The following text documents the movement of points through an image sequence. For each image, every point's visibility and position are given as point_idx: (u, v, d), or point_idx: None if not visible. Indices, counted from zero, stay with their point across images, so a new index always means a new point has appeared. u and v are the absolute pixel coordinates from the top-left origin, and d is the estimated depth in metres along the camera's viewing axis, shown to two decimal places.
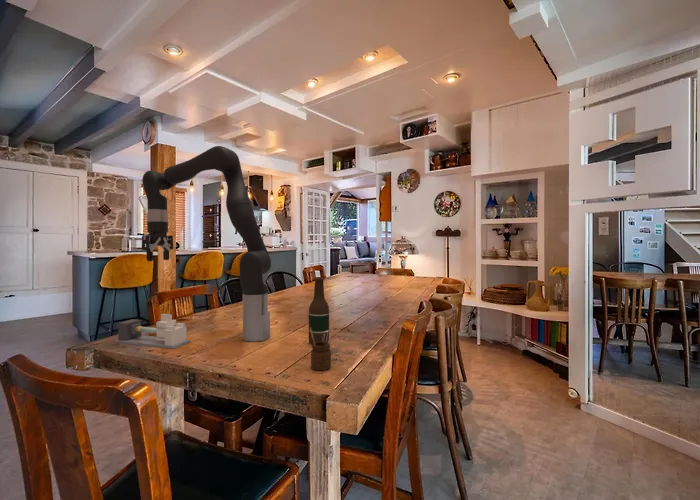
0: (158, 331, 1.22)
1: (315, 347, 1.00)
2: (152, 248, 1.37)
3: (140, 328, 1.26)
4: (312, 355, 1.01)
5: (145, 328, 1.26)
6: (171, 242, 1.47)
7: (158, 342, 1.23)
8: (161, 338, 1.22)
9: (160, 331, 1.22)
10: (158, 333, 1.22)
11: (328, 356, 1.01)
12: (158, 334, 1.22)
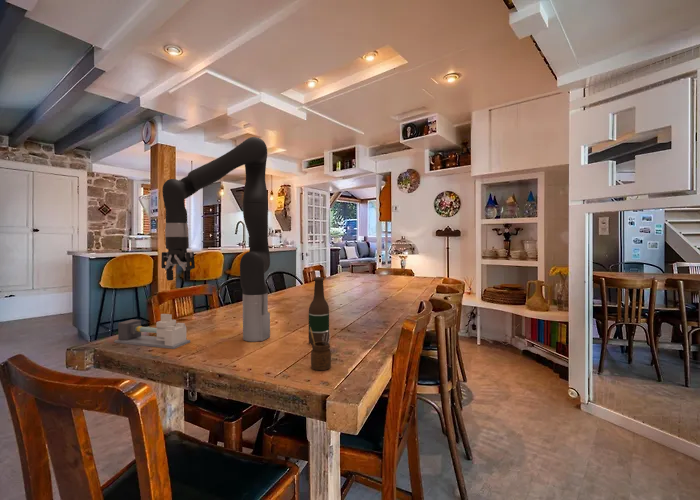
0: (158, 331, 1.22)
1: (315, 347, 1.00)
2: None
3: (140, 328, 1.26)
4: (312, 355, 1.01)
5: (145, 328, 1.26)
6: None
7: (158, 342, 1.23)
8: (161, 338, 1.22)
9: (160, 331, 1.22)
10: (158, 333, 1.22)
11: (328, 356, 1.01)
12: (158, 334, 1.22)
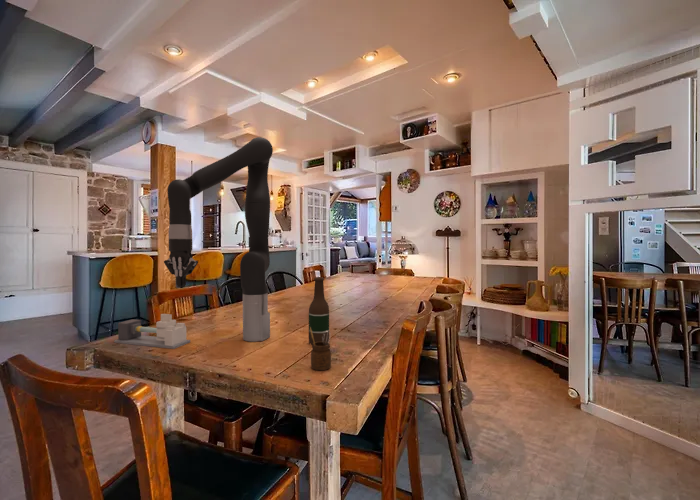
0: (158, 331, 1.22)
1: (315, 347, 1.00)
2: None
3: (140, 328, 1.26)
4: (312, 355, 1.01)
5: (145, 328, 1.26)
6: None
7: (158, 342, 1.23)
8: (161, 338, 1.22)
9: (160, 331, 1.22)
10: (158, 333, 1.22)
11: (328, 356, 1.01)
12: (158, 334, 1.22)
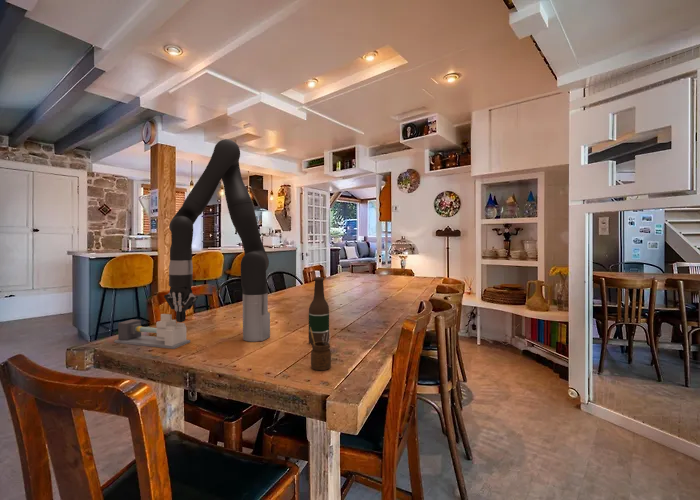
0: (158, 331, 1.22)
1: (315, 347, 1.00)
2: None
3: (140, 328, 1.26)
4: (312, 355, 1.01)
5: (145, 328, 1.26)
6: None
7: (158, 342, 1.23)
8: (161, 338, 1.22)
9: (160, 331, 1.22)
10: (158, 333, 1.22)
11: (328, 356, 1.01)
12: (158, 334, 1.22)
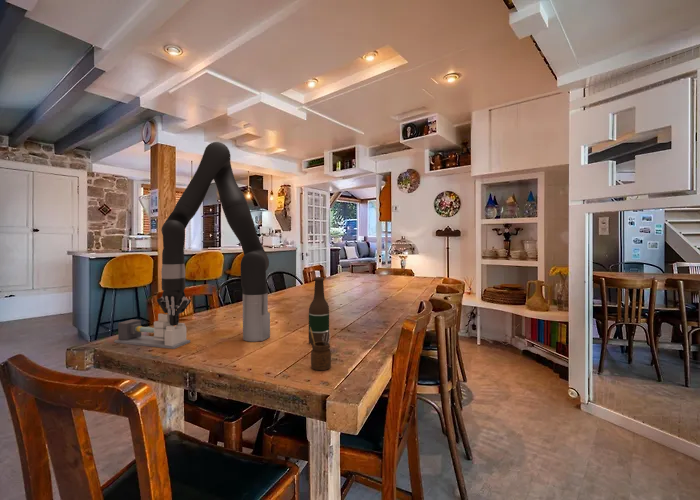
0: (155, 331, 1.22)
1: (315, 347, 1.00)
2: None
3: (140, 328, 1.26)
4: (312, 355, 1.01)
5: (145, 328, 1.26)
6: None
7: (158, 342, 1.23)
8: (158, 338, 1.22)
9: (157, 331, 1.22)
10: (155, 333, 1.23)
11: (328, 356, 1.01)
12: (155, 333, 1.23)
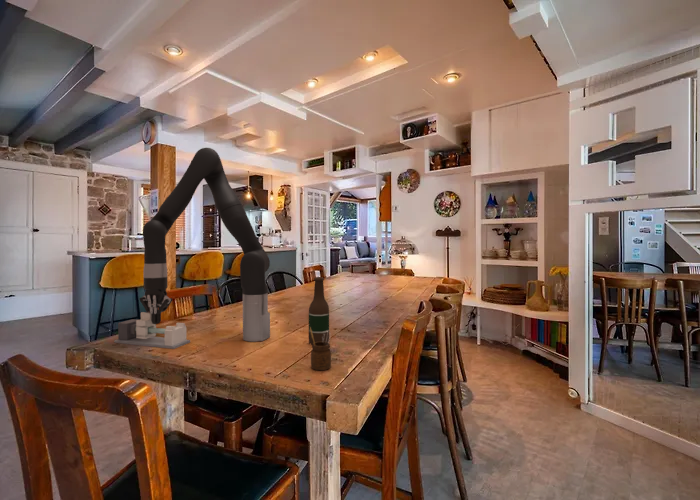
0: (138, 329, 1.25)
1: (315, 347, 1.00)
2: None
3: None
4: (312, 355, 1.01)
5: None
6: None
7: (158, 342, 1.23)
8: (141, 336, 1.24)
9: (140, 329, 1.24)
10: (138, 331, 1.25)
11: (328, 356, 1.01)
12: (138, 332, 1.25)
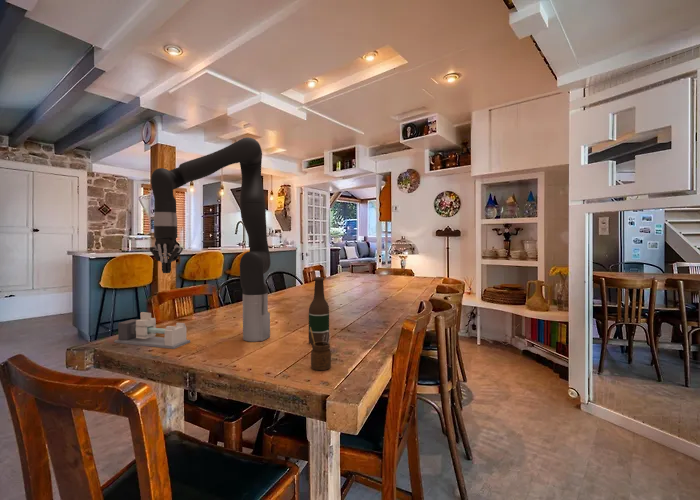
0: (137, 329, 1.25)
1: (315, 347, 1.00)
2: None
3: None
4: (312, 355, 1.01)
5: None
6: None
7: (158, 342, 1.23)
8: (140, 336, 1.24)
9: (139, 329, 1.24)
10: (137, 331, 1.25)
11: (328, 356, 1.01)
12: (137, 332, 1.25)
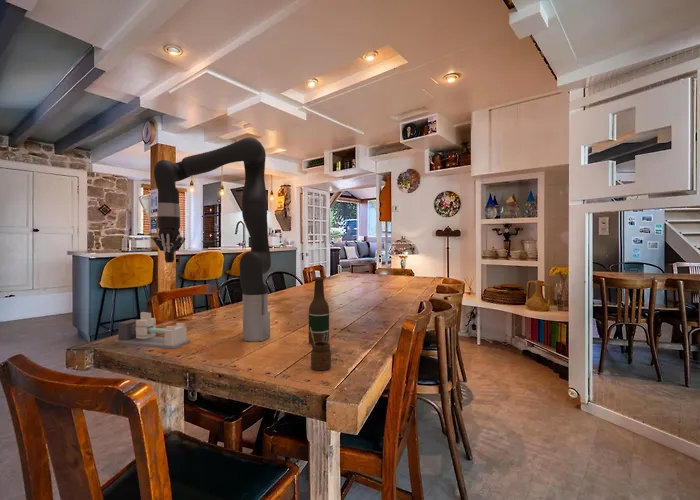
0: (137, 329, 1.25)
1: (315, 347, 1.00)
2: None
3: None
4: (312, 355, 1.01)
5: None
6: None
7: (158, 342, 1.23)
8: (140, 336, 1.24)
9: (139, 329, 1.24)
10: (137, 331, 1.25)
11: (328, 356, 1.01)
12: (137, 332, 1.25)
